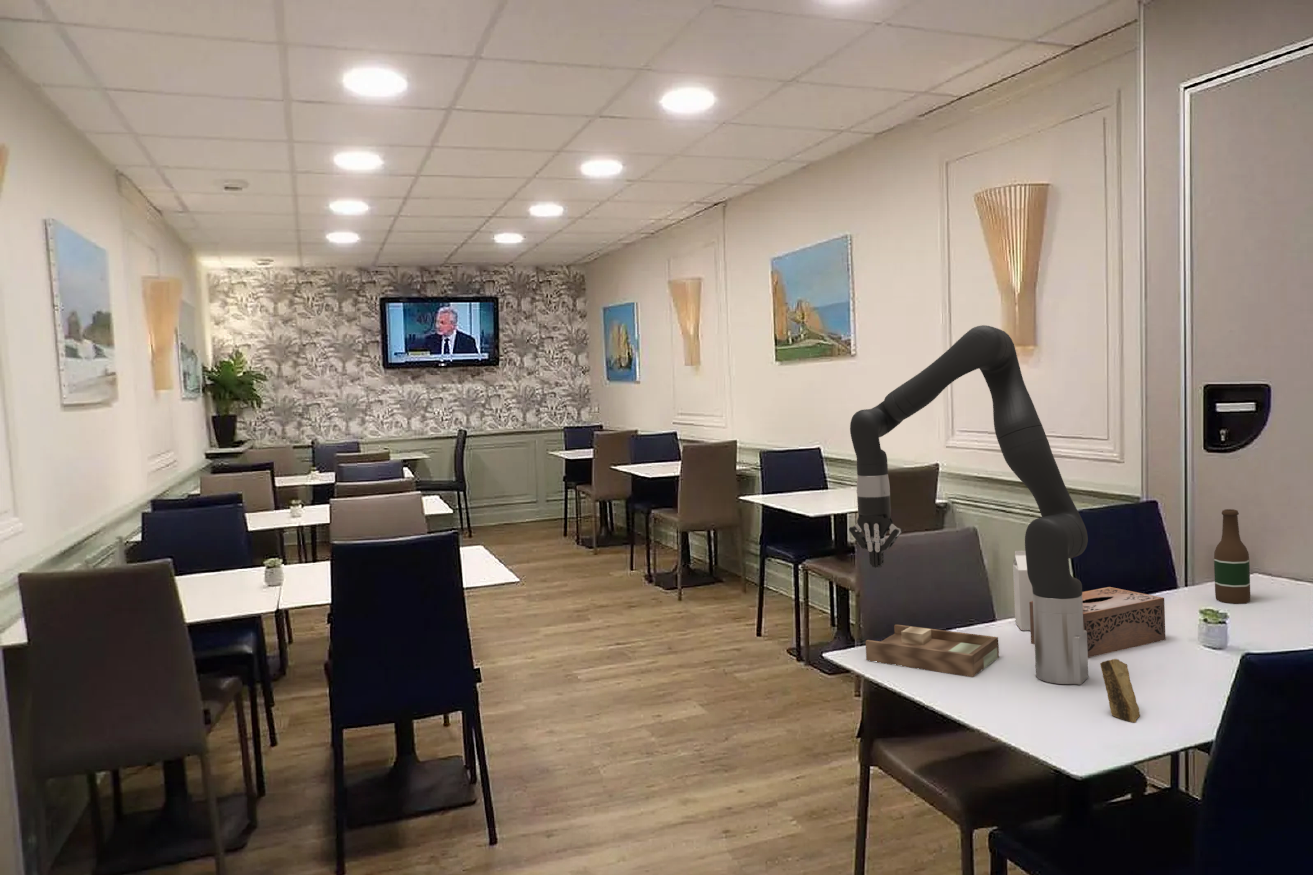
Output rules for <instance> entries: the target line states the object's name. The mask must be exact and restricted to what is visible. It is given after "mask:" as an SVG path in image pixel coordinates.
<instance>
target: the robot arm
mask: <svg viewBox="0 0 1313 875" xmlns="http://www.w3.org/2000/svg"><path fill="white" fill-rule="evenodd" d="M976 370H980V373H981V374H982V376H983V378H984V380H985V383H986V385H987V387H988V390H989V392H990V396H991V400H992V411H993V412H992V416H993V425H994V426H993V427H994V432H995V437H996V439H997V442H998V445H999V448H1000V451H1001V454H1002V456H1003V459H1004V461H1005V463H1006V464H1007V466H1009V468H1010V470H1011V471H1012V472H1013V473H1014V474H1015V476H1016V477H1017V478H1018V480H1020V482H1022V483H1023V484H1024V485H1025V487H1026V488H1027V490H1029V492H1030V494H1032V496H1033V498H1034V500H1035V502H1036V506H1037V507H1038V510H1039V512H1040V515H1041V517H1038V518H1035V519H1033V520H1032V521H1031V522H1030V523H1029V524H1028V526H1027V527H1026V531H1025V534H1024V551H1025V553H1026V563H1027V573H1028V578H1029V580H1030V583H1031V585H1032V590H1033V616H1034V641H1035V645H1034V658H1035V665H1034V667H1035V677H1036V678H1037V679H1039V680H1040V681H1044V682H1046V683H1051V684H1060V685H1079V686H1080V685H1082V684H1083V683H1084V682H1085V681H1086V680H1087V679H1088V678H1089V658H1088V650H1087V631H1086V630H1084V626H1083V600H1082V592H1083V584H1082V582H1081V580H1080V579H1078V578H1076V577H1073V576H1072V574H1071V572H1070V571H1071V570H1070V561H1069V559H1073V558H1076V557H1078V556H1081V555H1082V554H1083V553H1084V552H1085V550H1086V549H1087V546H1088V542H1089V540H1088V539H1089V537H1088V536H1089V535H1088V530H1087V528H1086V525H1085V523H1084V521H1083V518H1082V517H1081V515H1080V513H1079V511H1078V509H1077V507H1076V505H1075V503H1074V501H1073V499H1072V497H1071V495H1070V493H1069V491H1068V489H1067V486H1066V484H1065V483H1064V482H1065V481H1064V479H1063V477H1062V474H1061V472H1060V469H1059V467H1058V464H1057V462H1056V460H1055V457H1054V455H1053V452H1052V449H1051V446H1050V442H1049V439H1048V438H1047V435H1046V432H1045V429H1044V427H1043V424H1042V422H1041V420H1040V417H1039V415H1038V412H1037V408H1036V407H1035V405H1034V403H1033V400H1032V398H1031V395H1030V393H1029V391H1028V389H1027V386H1026V383H1025V381H1024V378H1023V375H1022V374H1023V373H1022V371H1021V367H1020V363H1019V359H1018V355H1017V350H1016V347H1015V344H1014V341H1013V339H1012V338H1011V336H1010V335H1009V334H1008V333H1007V332H1006V331H1004V330H1002V329H1000V328H998V327H994V326H992V325H991V326H990V325H985V324H983V325H982V324H981V325H977V326H974V327H972V328H971V329H969V330H968V331H967V332H966V333H964V334H963V335H962V336H961V337H960V338H959V339H958V340H956V342H954V344H953V345H951V346H950V347H949V348H948V349H947V350H946V351H945V352H944V353H943V354H941V356H939V357H938V358H937V359H936V360H934V361H933V362H931V364H929V365H928V366H927V367H926V368H924V369H923V370H921V371H920V372H919V373H917V374H915V375H914V376H913V377H911V378H910V379H909V380H907V381H906V382H904V383H902V384H901V385H899V386H898V387H896V388H895V389H894V390H892V391H891V392H889V393H888V394H887V395H886V396H885V397H884V400H883V401H881V402H880V403H879V404H877V405H875V406H874V407H872V408H867V409H866V408H865V409H860V410H858V411H856V412H855V413H854V414H853V416H852V418H851V420H850V423H849V424H850V425H849V431H850V438H851V441H852V442H851V443H852V447H853V450H854V453H855V456H856V475H857V476H856V477H857V480H856V497H857V499H856V500H857V501H856V502H857V514H858V518H857V520H856V524H854V525H853V526H850V527H849V528H848V531H849V533H850V534H851V535H852V537H853V538H854V539H855V541H856V542H857V544H858V545H859V547H860V548H861V549H862V550H863V549H864V550H867V551H868V552H869V553H868V554H869V564H870V566H871V567H872V568H874V569H875V568H876V569H880V568H882V567H883V565H884V563H885V558H884V557H885V556H884V555H885V553H884V552H885V551H886V550H889V549H890V548H892V547H893V545H894V544H895V543H896V541H897V540H898V538H899V537H900V536H901V534H902V532H903V529H902V528H901V527H897V526H896V525H895V524H894V522H893V519H892V517H891V515H892V514H891V513H892V507H891V506H892V505H891V488H890V479H889V470H888V469H889V468H888V465H889V464H888V456H887V452H886V451H885V450H883V449H882V448H881V443H880V442H881V441H880V438H881V437H883V436H885V435H888V434H889V432H892V430H894V429H895V428H897V427H898V425H900V424H901V423H902V422H903V421H904V420H906V419H908V418H910V417H912V416H913V415H915V414H917V413H918V412H919V411H921V410H923V408H926V407H927V406H929V404H931V403H932V402H933V401H934V400H935V399H936V398H937V397H938V396H939V395H941V393H942V392H943V391H944V390H945V389H946V388H948V386H950V385H951V384H952V383H954V382H955V381H956V380H958V379H959V378H961V377H963V376H965V375H967V374H968V373H971V372H973V371H976ZM888 533H889V535H888V537H887V539H886V535H887V534H888Z"/></svg>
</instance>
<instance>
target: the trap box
mask: <svg viewBox="0 0 1313 875" xmlns="http://www.w3.org/2000/svg"><path fill="white" fill-rule="evenodd" d="M893 626H894V633H893V634H891V635H889V636H887V637H886V638H884V639H882V640H881V641H880V640H879V641H878V640H871V639H867V640H865V657H866V660H870V661H869V662H872V661H877V662H876V663H879V662H881V664H885V663H887V665H892V664H896V665H895V666H898V665H902V666H901V667H904V666H906V668H912V669H917V668H919V670H924V669H925V671H930V672H931V671H932V672H938V673H943V674H949V673H950V675H957V676H961V677H962V676H963V677H970V678H974V677H975V676H976V675H977V674H979V673H981V672H982V671H983V670H984V669H986V668H987V667H988V666H990V664H992V663H993V662H995V661H996V660H997V659H999V657H1000V652H999V650H1000V649H999V645H1000V644H999V636H992V635H985V634H975V633H970V632H969V633H968V632H958V631H952V630H944V629H935V628H928V627H925V628H926V629H931V638H932V640H930V641H929V642H927V643H926V644H924V645H917V644H910V643H903V642H902V636H901V631H903V630H905V629H907V628H909V627H914V626H911V625H904V624H898V623H897V624H894V625H893ZM917 627H918V628H922V627H921V626H917ZM994 660H995V661H994ZM981 670H982V671H981Z"/></svg>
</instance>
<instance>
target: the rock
mask: <svg viewBox="0 0 1313 875" xmlns="http://www.w3.org/2000/svg"><path fill="white" fill-rule="evenodd" d="M1099 663H1100V664H1099V665H1100V669H1101V674H1102V678H1103V682H1104V686H1105V690H1106V693H1107V700H1108V705H1109V709H1110V713H1111V715H1112V717H1115V718H1117V719H1120V720H1123V721H1125V722H1130V723H1134V724H1135V723H1137V719H1138V718H1139V717H1140V716H1141V714H1140V707H1139V705H1138V703H1137V697H1136V694H1135V692H1134V688H1133V685H1132V682H1131V680H1130V678H1131V677H1130V672H1129V669H1128V664H1127V663H1126V662H1125V663H1124V662H1123V661H1121V660H1119V659H1117V658H1112V659H1108V660H1105V661H1102V662H1099Z"/></svg>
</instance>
